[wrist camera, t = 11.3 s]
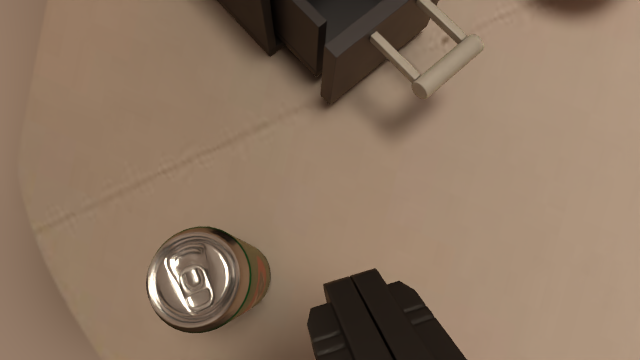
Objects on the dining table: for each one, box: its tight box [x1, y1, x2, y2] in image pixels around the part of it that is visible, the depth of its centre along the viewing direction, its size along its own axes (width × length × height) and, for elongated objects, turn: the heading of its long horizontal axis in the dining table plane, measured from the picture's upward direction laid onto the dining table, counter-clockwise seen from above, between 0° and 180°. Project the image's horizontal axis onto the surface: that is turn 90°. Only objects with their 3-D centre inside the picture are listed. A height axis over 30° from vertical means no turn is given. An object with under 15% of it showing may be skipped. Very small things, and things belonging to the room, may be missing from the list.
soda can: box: [146, 227, 271, 333], centre depth 24 cm, size 5×5×12 cm
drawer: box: [270, 0, 484, 105], centre depth 30 cm, size 19×11×7 cm, turn 42°
